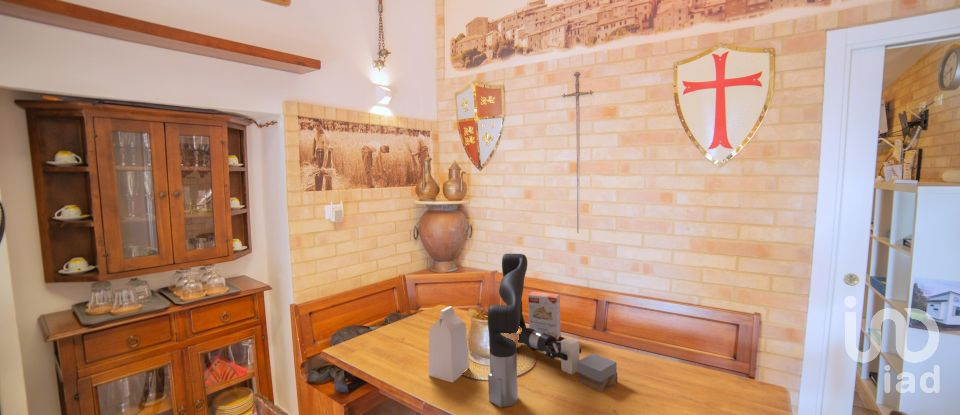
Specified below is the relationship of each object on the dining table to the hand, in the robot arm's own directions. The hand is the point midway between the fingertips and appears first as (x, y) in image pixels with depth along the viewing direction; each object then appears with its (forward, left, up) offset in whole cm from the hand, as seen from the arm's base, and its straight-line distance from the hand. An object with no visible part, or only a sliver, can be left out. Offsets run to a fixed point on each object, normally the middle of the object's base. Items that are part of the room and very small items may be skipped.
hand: (574, 354), depth 152 cm
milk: (-36, +34, -7) cm, 50 cm away
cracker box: (+17, +30, -7) cm, 35 cm away
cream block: (0, +2, -7) cm, 7 cm away
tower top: (0, -10, -3) cm, 11 cm away
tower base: (0, -10, -7) cm, 13 cm away
